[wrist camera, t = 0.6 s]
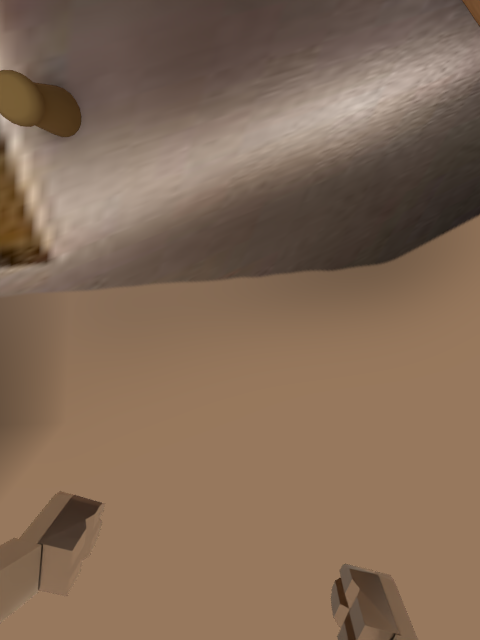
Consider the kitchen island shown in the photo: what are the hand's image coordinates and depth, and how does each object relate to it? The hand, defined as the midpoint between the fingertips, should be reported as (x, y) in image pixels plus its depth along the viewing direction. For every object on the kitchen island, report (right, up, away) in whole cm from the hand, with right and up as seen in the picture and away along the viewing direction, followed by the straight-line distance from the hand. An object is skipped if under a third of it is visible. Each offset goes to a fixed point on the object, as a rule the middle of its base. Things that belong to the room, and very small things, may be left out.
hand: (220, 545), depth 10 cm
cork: (-25, +37, +32) cm, 55 cm away
